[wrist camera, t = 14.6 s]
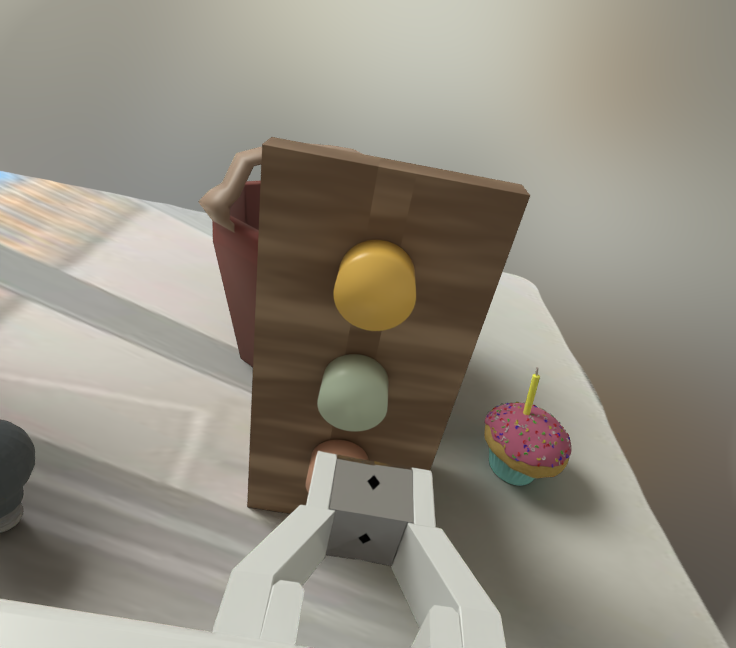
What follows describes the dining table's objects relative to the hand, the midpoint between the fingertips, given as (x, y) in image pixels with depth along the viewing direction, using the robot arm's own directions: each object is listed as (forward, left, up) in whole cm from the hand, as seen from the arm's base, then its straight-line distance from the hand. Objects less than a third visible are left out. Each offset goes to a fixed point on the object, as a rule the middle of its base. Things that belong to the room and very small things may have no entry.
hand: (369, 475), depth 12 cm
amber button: (+12, +12, -4) cm, 17 cm away
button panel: (+15, +15, -26) cm, 33 cm away
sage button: (+12, +12, -12) cm, 21 cm away
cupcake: (+31, +5, -26) cm, 41 cm away
